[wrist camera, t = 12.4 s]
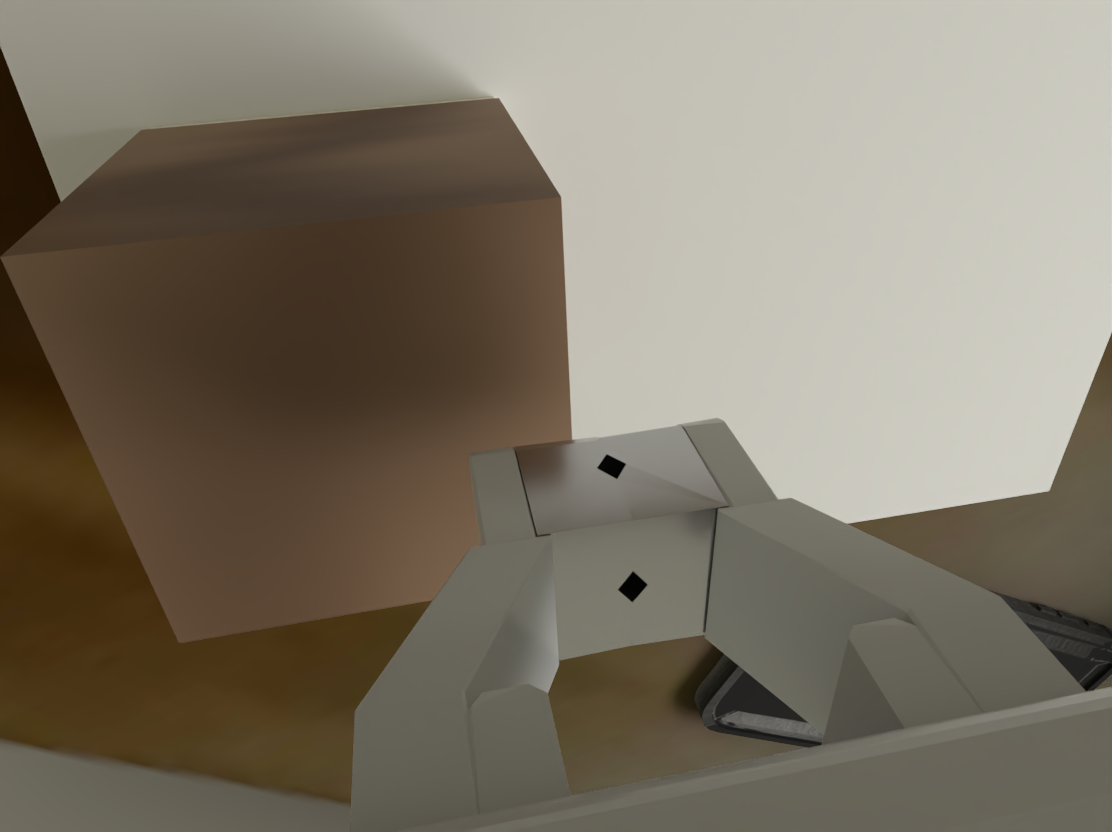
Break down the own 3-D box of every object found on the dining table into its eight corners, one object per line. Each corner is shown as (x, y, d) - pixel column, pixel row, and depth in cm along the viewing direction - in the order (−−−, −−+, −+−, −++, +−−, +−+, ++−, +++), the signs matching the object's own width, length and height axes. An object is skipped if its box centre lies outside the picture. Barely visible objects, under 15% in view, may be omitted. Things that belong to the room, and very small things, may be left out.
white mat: (1350, -359, 13) (1388, -370, 13) (1034, 478, 23) (1048, 491, 23) (-137, -361, 10) (-165, -375, 10) (229, 606, 20) (225, 623, 20)
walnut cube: (0, 256, 8) (147, 124, 13) (179, 643, 11) (241, 417, 17) (562, 197, 9) (496, 93, 14) (577, 575, 12) (520, 379, 17)
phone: (994, 778, 31) (688, 728, 25) (976, 753, 32) (678, 699, 26) (1143, 646, 28) (831, 553, 22) (1118, 622, 29) (813, 527, 23)
